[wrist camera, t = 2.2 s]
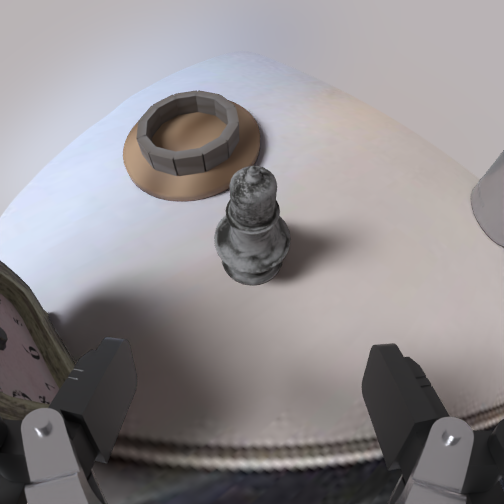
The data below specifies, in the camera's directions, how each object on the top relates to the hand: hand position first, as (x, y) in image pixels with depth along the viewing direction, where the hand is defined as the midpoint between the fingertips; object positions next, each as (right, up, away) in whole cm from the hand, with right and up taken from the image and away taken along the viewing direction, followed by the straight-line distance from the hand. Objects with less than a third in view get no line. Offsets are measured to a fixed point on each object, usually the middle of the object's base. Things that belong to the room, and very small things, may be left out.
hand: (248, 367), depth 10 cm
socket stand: (-7, +15, +24) cm, 29 cm away
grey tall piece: (0, +3, +19) cm, 19 cm away
